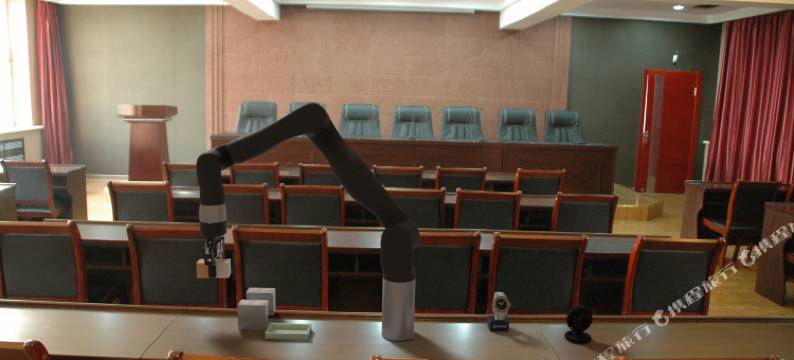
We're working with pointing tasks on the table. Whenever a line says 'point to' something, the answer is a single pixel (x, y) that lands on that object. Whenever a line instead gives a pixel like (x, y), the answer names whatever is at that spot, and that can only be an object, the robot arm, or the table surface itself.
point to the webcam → (579, 325)
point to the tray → (288, 331)
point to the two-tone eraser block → (221, 268)
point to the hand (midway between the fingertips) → (214, 274)
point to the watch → (499, 313)
